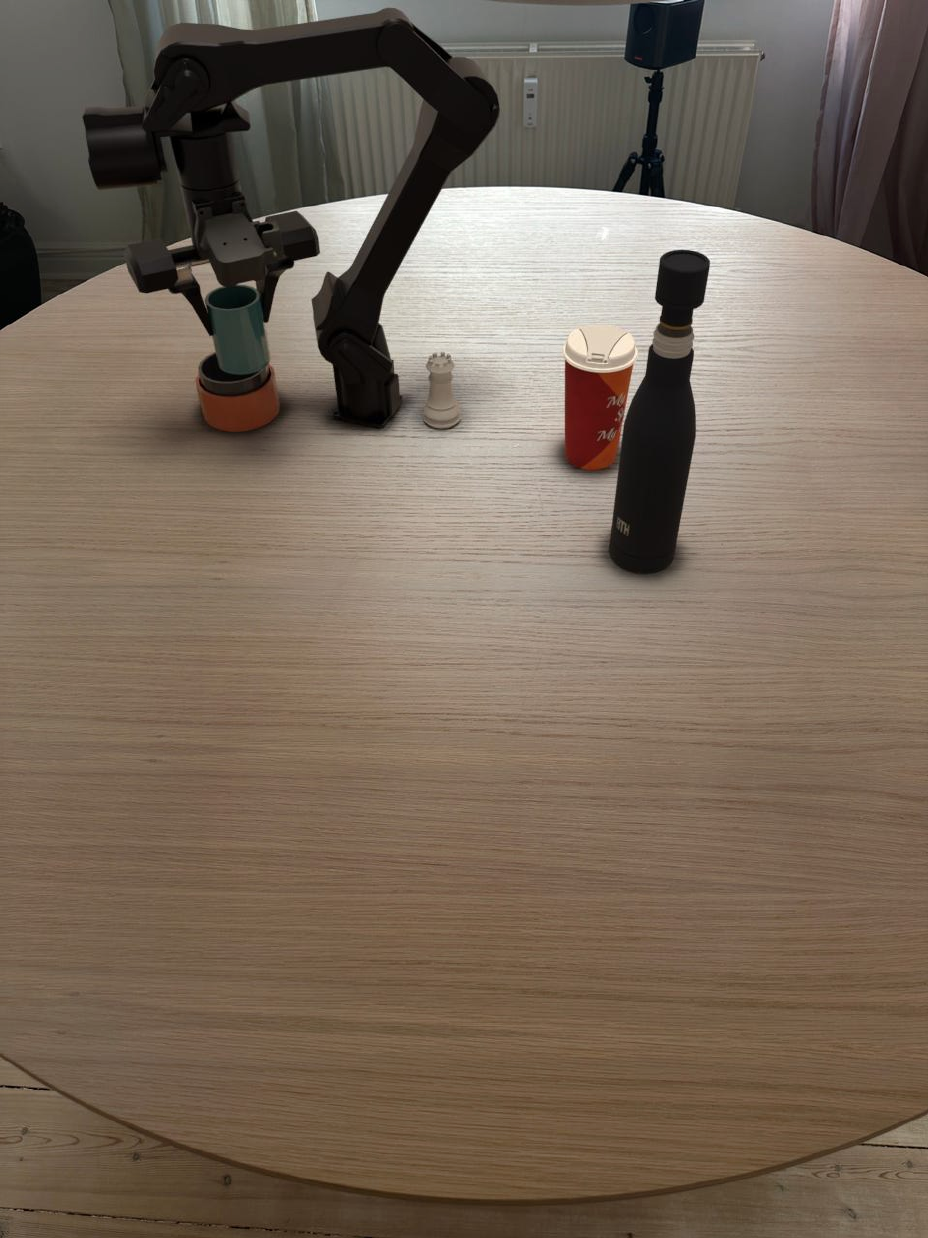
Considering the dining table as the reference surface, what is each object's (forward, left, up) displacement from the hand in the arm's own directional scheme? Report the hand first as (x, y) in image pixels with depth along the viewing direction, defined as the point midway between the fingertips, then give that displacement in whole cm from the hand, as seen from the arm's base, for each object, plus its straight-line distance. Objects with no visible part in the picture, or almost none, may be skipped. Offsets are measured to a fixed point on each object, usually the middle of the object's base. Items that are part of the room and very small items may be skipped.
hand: (237, 327), depth 105 cm
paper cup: (+38, +7, -12) cm, 41 cm away
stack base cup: (-3, +2, -12) cm, 13 cm away
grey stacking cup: (-3, +2, -12) cm, 13 cm away
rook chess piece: (+20, +8, -12) cm, 25 cm away
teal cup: (0, 0, -4) cm, 4 cm away
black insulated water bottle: (+47, -7, -12) cm, 49 cm away
